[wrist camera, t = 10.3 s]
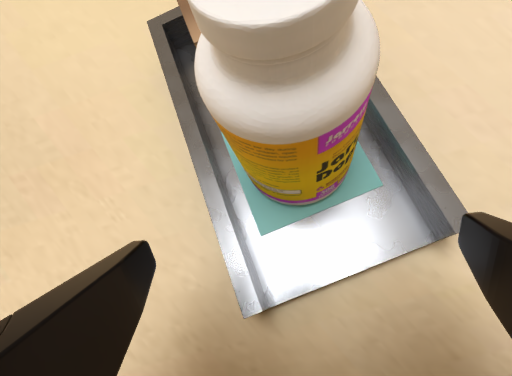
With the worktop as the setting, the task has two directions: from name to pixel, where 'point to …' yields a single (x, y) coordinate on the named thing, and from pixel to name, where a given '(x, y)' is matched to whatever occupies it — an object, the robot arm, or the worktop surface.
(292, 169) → the supplement bottle
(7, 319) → the robot arm
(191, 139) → the shallow metal tray
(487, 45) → the worktop surface
